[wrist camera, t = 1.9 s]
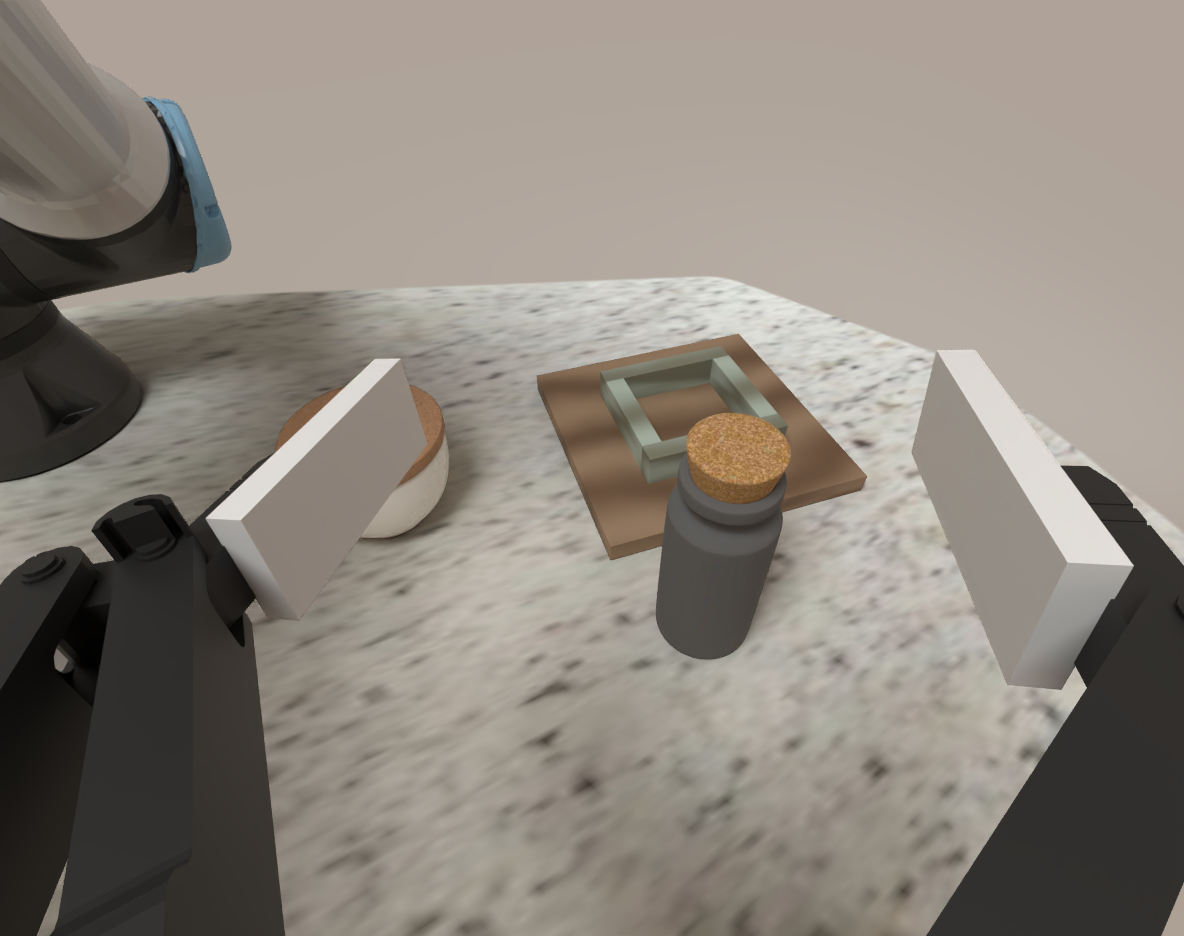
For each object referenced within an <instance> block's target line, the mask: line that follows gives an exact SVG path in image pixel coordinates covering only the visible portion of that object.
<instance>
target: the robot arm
mask: <svg viewBox="0 0 1184 936" xmlns="http://www.w3.org/2000/svg"><path fill="white" fill-rule="evenodd" d="M217 203H218V202H217V199H216V197H215V193H214V190H213V187H212V184H211V181H210V179H209V176H208V173H207V171H206V168H205V165H204V163H203V160H202V157H201V154H200V152H199V149H198V147H197V144H196V141H195V139H194V136H193V134H192V131H191V129H190V126H189V124H188V121H187V119H186V117H185V115H184V113H183V112H182V109H181V108H180V106H179V105H178V104H177V103H175V102H174V101H172V100H169V99H155V98H153V97H144V98H141V97H140V96H139V95H138V94H137V93H136V92H135V91H134V90H133V89H131V88H130V87H129V86H127V85H126V84H125V83H124V82H122V81H121V80H119V79H118V78H116V77H115V76H113V75H112V74H110V73H108V72H106V71H104V70H102V69H100V68H98V67H96V66H94V65H91V64H89V63H86V61H85V60H84V59H83V57H82V56H81V54H80V53H79V52H78V50H77V49H76V48H75V46H74V45H73V44H72V42H71V41H70V40H69V38H68V37H67V35H66V34H65V33H64V32H63V30H62V29H61V27H60V26H59V25H58V23H57V22H56V20H55V19H54V18H53V16H52V15H51V14H50V12H49V11H48V10H47V8H46V7H45V6H44V4H43V3H42V1H41V0H0V481H5V480H11V479H16V478H21V477H25V476H29V475H33V474H36V473H39V472H42V471H45V470H48V469H51V468H54V467H56V466H59V465H61V464H64V463H66V462H68V461H70V460H72V459H74V458H76V457H78V456H81V455H82V454H84V453H86V452H88V451H90V450H91V449H93V448H95V447H96V446H98V445H99V444H101V443H102V442H104V441H105V440H107V439H108V438H109V437H111V436H112V435H113V434H115V433H116V432H117V431H118V430H119V429H120V428H121V427H122V426H123V425H124V424H125V423H126V422H127V421H128V420H129V419H130V418H131V417H132V415H133V414H134V412H135V411H136V409H137V407H138V405H139V403H140V400H141V394H142V393H141V387H140V384H139V383H138V381H137V380H136V378H135V377H134V375H133V374H132V372H131V371H130V370H129V368H128V367H127V365H126V364H125V363H124V362H123V361H122V360H121V359H120V358H118V357H117V356H116V355H114V354H112V353H111V352H110V351H109V350H107V349H106V348H105V347H103V346H102V345H101V344H100V343H98V342H97V341H96V340H94V339H93V338H92V337H90V336H89V335H88V334H86V333H85V332H84V331H82V330H81V329H80V328H78V327H77V326H75V325H74V324H73V323H71V322H70V321H69V320H67V319H66V318H65V317H64V316H63V315H62V314H61V313H60V311H59V310H58V309H57V307H56V306H55V305H54V303H53V302H52V301H51V300H53V299H59V298H62V297H67V296H71V295H76V294H81V293H86V292H90V291H95V290H100V289H105V288H109V287H114V286H119V285H124V284H128V283H133V282H138V281H142V280H147V279H152V278H157V277H162V276H166V275H171V274H176V273H181V272H186V273H191V272H195V271H197V270H199V269H200V268H201V267H205V266H209V265H213V264H217V263H220V262H222V261H224V260H225V259H226V258H227V257H228V256H229V255H230V252H231V241H230V237H229V234H228V230H227V228H226V224H225V221H224V219H223V216H222V213H221V211H220V208H219V206H218V204H217ZM427 444H428V443H427V440H426V437H425V434H424V431H423V428H422V425H421V421H420V418H419V415H418V412H417V409H416V406H415V402H414V399H413V396H412V393H411V390H410V387H409V383H408V380H407V377H406V374H405V371H404V368H403V365H402V361H401V359H374V360H373V361H372V362H371V363H370V364H369V365H368V366H367V367H366V368H365V369H364V370H363V371H362V372H361V373H360V374H358V375H357V376H356V377H355V378H354V379H353V380H352V381H351V382H350V383H349V384H348V385H347V386H346V387H345V388H344V389H343V390H341V391H340V392H339V393H338V394H337V395H336V396H335V397H334V398H333V399H332V400H331V401H330V402H329V403H328V404H327V405H325V406H324V407H323V408H322V409H321V410H320V411H319V412H318V413H317V414H316V415H315V416H314V417H313V418H312V419H311V420H310V421H308V422H307V423H306V424H305V425H304V426H303V427H302V428H301V429H300V430H299V431H298V432H297V433H296V434H295V435H294V436H293V437H291V438H290V439H289V440H288V441H287V442H286V443H285V444H284V445H283V446H282V447H281V448H280V449H279V450H278V451H277V452H275V453H273V454H272V455H270V456H268V457H266V458H265V459H263V460H261V461H260V462H258V463H257V464H256V465H254V466H253V467H252V468H251V469H250V470H249V471H248V472H247V473H246V474H245V475H244V476H243V477H242V480H238V481H237V482H236V483H235V484H234V485H233V486H232V487H231V488H230V491H226V492H225V493H224V494H223V495H222V496H221V497H220V498H219V499H218V500H217V501H216V502H215V503H213V504H212V505H211V506H210V507H209V508H208V509H207V510H206V511H205V512H204V513H203V514H202V515H200V516H199V517H198V518H197V519H196V520H195V521H194V522H193V523H192V524H191V525H190V526H188V524H187V523H186V521H185V520H184V518H183V517H182V515H181V514H180V512H179V511H178V509H177V508H176V506H175V504H174V503H173V501H172V500H171V498H170V497H168V496H165V495H162V494H159V495H147V496H143V497H139V498H135V499H133V500H130V501H128V502H126V503H123V504H121V505H119V506H117V507H116V508H114V509H112V510H111V511H109V512H107V513H106V514H105V515H104V516H103V517H101V518H100V519H99V520H98V521H97V522H96V523H95V525H94V527H93V529H92V530H91V531H92V532H93V533H94V535H95V536H96V537H97V538H98V540H99V541H100V542H101V543H102V545H103V546H104V547H105V549H106V550H107V551H108V552H109V554H110V555H111V556H112V557H113V559H114V560H113V561H108V562H102V563H97V564H93V563H92V562H91V561H90V560H89V558H88V557H87V556H86V555H85V553H84V552H83V551H82V550H81V549H80V548H78V547H73V546H69V547H61V548H57V549H54V550H50V551H45V552H42V553H40V554H38V555H36V557H35V556H33V557H31V558H30V559H28V560H26V561H25V562H24V563H23V564H22V565H20V566H19V567H17V568H16V569H15V570H13V571H12V572H11V573H10V574H9V575H8V576H7V577H6V578H5V579H4V581H3V582H2V583H1V585H0V936H37V933H38V931H39V928H40V926H41V923H42V921H43V918H44V916H45V913H46V911H47V909H48V906H49V904H50V901H51V899H52V896H53V894H54V891H55V889H56V886H57V884H58V881H59V879H60V877H61V874H62V872H63V869H64V867H65V864H66V862H67V867H66V873H65V879H64V885H63V891H62V897H61V903H60V909H59V915H58V920H57V923H56V926H55V929H54V931H53V932H52V934H51V935H50V936H285V931H284V923H283V913H282V904H281V894H280V885H279V876H278V866H277V857H276V847H275V838H274V828H273V819H272V810H271V800H270V791H269V781H268V772H267V762H266V753H265V743H264V734H263V725H262V715H261V706H260V696H259V687H258V677H257V668H256V659H255V649H254V640H253V630H252V623H251V621H250V619H249V617H248V616H247V614H246V613H245V610H246V609H247V608H248V607H249V605H250V604H251V603H252V602H253V601H254V599H255V598H256V600H257V602H258V603H259V605H260V606H261V608H262V609H263V611H264V613H265V614H266V616H267V617H268V618H275V619H286V620H297V621H300V619H301V618H302V616H303V615H304V614H305V612H306V611H307V609H308V608H309V607H310V605H311V604H312V603H313V601H314V600H315V598H316V597H317V596H318V594H319V593H320V592H321V590H322V589H323V587H324V586H325V585H326V583H327V582H328V581H329V579H330V578H331V576H332V575H333V574H334V572H335V571H336V570H337V568H338V567H339V565H340V564H341V563H342V561H343V560H344V558H345V557H346V556H347V554H348V553H349V552H350V550H351V549H352V547H353V546H354V545H355V543H356V542H357V541H358V539H359V538H360V536H361V535H362V534H363V532H364V531H365V530H366V528H367V527H368V525H369V524H370V523H371V521H372V520H373V518H374V517H375V516H376V514H377V513H378V512H379V510H380V509H381V507H382V506H383V505H384V503H385V502H386V501H387V499H388V498H389V496H390V495H391V494H392V492H393V491H394V490H395V488H396V487H397V485H398V484H399V483H400V481H401V480H402V479H403V477H404V476H405V474H406V473H407V472H408V470H409V469H410V467H411V466H412V465H413V463H414V462H415V461H416V459H417V458H418V456H419V455H420V454H421V452H422V451H423V450H424V448H425V447H426V445H427ZM912 455H913V457H914V460H915V462H916V465H917V467H918V469H919V472H920V474H921V477H922V479H923V482H924V484H925V486H926V489H927V491H928V494H929V496H930V499H931V501H932V503H933V506H934V508H935V511H936V513H937V516H938V518H939V520H940V523H941V525H942V528H943V530H944V532H945V535H946V537H947V540H948V542H949V545H950V547H951V549H952V552H953V554H954V557H955V559H956V562H957V564H958V566H959V569H960V571H961V574H962V576H963V579H964V581H965V583H966V586H967V588H968V591H969V593H970V596H971V598H972V600H973V603H974V605H975V608H976V610H977V612H978V615H979V617H980V620H981V622H982V625H983V627H984V629H985V632H986V634H987V637H988V639H989V642H990V644H991V646H992V649H993V651H994V654H995V656H996V659H997V661H998V663H999V666H1000V668H1001V671H1002V673H1003V675H1004V678H1005V680H1006V683H1007V685H1014V686H1025V687H1036V688H1047V689H1058V690H1062V688H1063V686H1064V685H1065V683H1066V681H1067V679H1068V678H1069V676H1070V674H1071V673H1072V671H1073V669H1074V668H1075V666H1076V668H1077V670H1078V672H1079V674H1080V675H1081V677H1082V679H1083V681H1084V683H1085V685H1086V687H1087V689H1086V690H1085V692H1084V693H1083V695H1082V696H1081V698H1080V700H1079V701H1078V703H1077V704H1076V706H1075V707H1074V709H1073V710H1072V712H1071V713H1070V715H1069V717H1068V718H1067V720H1066V721H1065V723H1064V724H1063V726H1062V727H1061V729H1060V730H1059V732H1058V734H1057V735H1056V737H1055V738H1054V740H1053V741H1052V743H1051V744H1050V746H1049V747H1048V749H1047V750H1046V752H1045V754H1044V755H1043V757H1042V758H1041V760H1040V761H1039V763H1038V764H1037V766H1036V767H1035V769H1034V771H1033V772H1032V774H1031V775H1030V777H1029V778H1028V780H1027V781H1026V783H1025V784H1024V786H1023V787H1022V789H1021V791H1020V792H1019V794H1018V795H1017V797H1016V798H1015V800H1014V801H1013V803H1012V804H1011V806H1010V808H1009V809H1008V811H1007V812H1006V814H1005V815H1004V817H1003V818H1002V820H1001V821H1000V823H999V824H998V826H997V828H996V829H995V831H994V832H993V834H992V835H991V837H990V838H989V840H988V841H987V843H986V845H985V846H984V848H983V849H982V851H981V852H980V854H979V855H978V857H977V858H976V860H975V861H974V863H973V865H972V866H971V868H970V869H969V871H968V872H967V874H966V875H965V877H964V878H963V880H962V882H961V883H960V885H959V886H958V888H957V889H956V891H955V892H954V894H953V895H952V897H951V898H950V900H949V902H948V903H947V905H946V906H945V908H944V909H943V911H942V912H941V914H940V915H939V917H938V919H937V920H936V922H935V923H934V925H933V926H932V928H931V929H930V931H929V932H928V934H927V936H1161V935H1162V932H1163V930H1164V928H1165V925H1166V923H1167V921H1168V918H1169V916H1170V914H1171V911H1172V909H1173V906H1174V904H1175V902H1176V899H1177V897H1178V895H1179V892H1180V890H1181V888H1182V885H1183V883H1184V565H1183V564H1182V563H1181V562H1180V561H1179V559H1178V558H1177V557H1176V556H1175V554H1174V553H1173V552H1172V551H1171V550H1170V548H1169V547H1168V546H1167V545H1166V544H1165V542H1164V541H1163V540H1162V539H1161V538H1160V536H1159V535H1158V534H1157V533H1156V531H1155V530H1154V529H1153V528H1152V527H1151V526H1150V525H1147V521H1146V519H1145V518H1144V517H1143V516H1142V515H1141V513H1140V512H1139V511H1138V510H1137V509H1136V508H1133V504H1132V502H1131V501H1130V500H1129V499H1128V498H1127V496H1126V495H1125V494H1124V493H1123V492H1122V490H1121V489H1120V488H1119V487H1118V486H1117V484H1115V483H1114V482H1112V481H1111V480H1109V479H1108V478H1106V477H1104V476H1103V475H1101V474H1100V473H1098V472H1097V471H1095V470H1094V469H1092V468H1090V467H1089V466H1060V465H1059V463H1058V462H1057V461H1056V459H1055V458H1054V457H1053V455H1052V454H1051V453H1050V451H1049V450H1048V448H1047V447H1046V446H1045V444H1044V443H1043V442H1042V440H1041V439H1040V438H1039V436H1038V435H1037V433H1036V432H1035V431H1034V429H1033V428H1032V427H1031V425H1030V424H1029V423H1028V421H1027V420H1026V418H1025V417H1024V416H1023V414H1022V413H1021V412H1020V410H1019V409H1018V408H1017V406H1016V405H1015V404H1014V402H1013V401H1012V399H1011V398H1010V397H1009V396H1008V394H1007V393H1006V391H1005V390H1004V389H1003V387H1002V386H1001V385H1000V383H999V382H998V381H997V379H996V378H995V376H994V375H993V374H992V372H991V371H990V370H989V368H988V367H987V365H986V364H985V363H984V361H983V360H982V359H981V357H980V356H979V355H978V353H977V352H976V350H937V351H936V355H935V359H934V363H933V367H932V371H931V375H930V379H929V383H928V388H927V392H926V396H925V400H924V404H923V408H922V412H921V416H920V420H919V424H918V428H917V432H916V436H915V440H914V444H913V448H912ZM56 648H57V649H58V650H59V651H60V652H61V653H62V655H63V656H64V657H65V658H66V659H67V660H68V662H67V664H66V666H65V667H64V669H63V670H62V672H60V671H58V670H57V669H56V668H55V662H54V655H55V652H56ZM67 859H68V861H67Z"/></svg>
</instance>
